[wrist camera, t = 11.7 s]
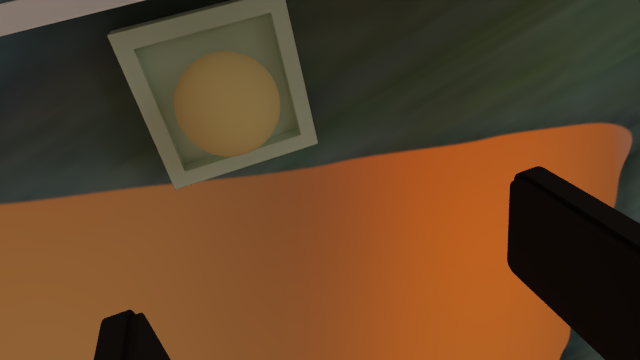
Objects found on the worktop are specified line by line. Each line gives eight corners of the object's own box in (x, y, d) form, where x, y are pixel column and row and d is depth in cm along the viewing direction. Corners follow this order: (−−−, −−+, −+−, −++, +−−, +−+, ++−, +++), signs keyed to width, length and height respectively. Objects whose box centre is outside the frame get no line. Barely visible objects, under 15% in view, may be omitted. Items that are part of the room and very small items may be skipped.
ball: (256, 31, 26) (274, 49, 21) (280, 120, 29) (300, 155, 24) (159, 57, 26) (153, 82, 20) (194, 145, 29) (196, 187, 24)
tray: (276, -12, 26) (283, -10, 25) (310, 134, 31) (318, 143, 30) (111, 30, 25) (107, 35, 23) (175, 177, 30) (175, 189, 28)
